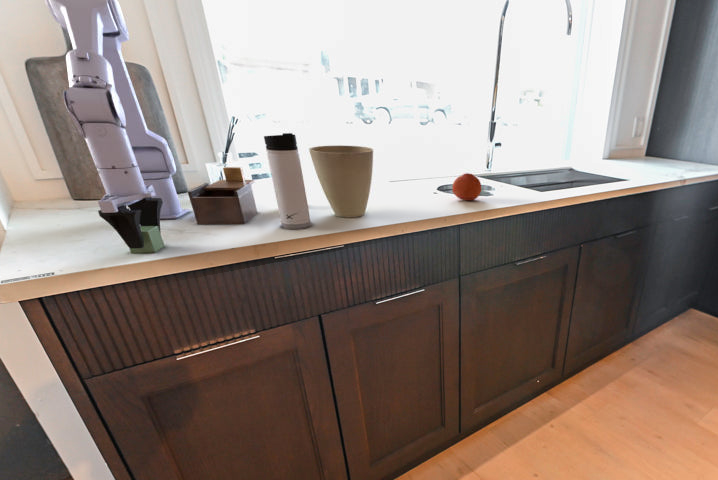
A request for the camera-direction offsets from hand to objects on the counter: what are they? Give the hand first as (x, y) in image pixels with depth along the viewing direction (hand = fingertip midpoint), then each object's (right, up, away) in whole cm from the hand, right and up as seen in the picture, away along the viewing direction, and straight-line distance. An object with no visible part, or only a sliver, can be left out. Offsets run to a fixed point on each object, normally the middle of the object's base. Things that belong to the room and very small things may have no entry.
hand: (145, 242), depth 81 cm
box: (+1, +11, +23) cm, 25 cm away
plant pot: (+28, +14, +31) cm, 44 cm away
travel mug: (+20, +8, +19) cm, 29 cm away
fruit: (+57, +24, +52) cm, 81 cm away
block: (0, -1, +1) cm, 1 cm away
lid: (0, +20, +25) cm, 32 cm away
